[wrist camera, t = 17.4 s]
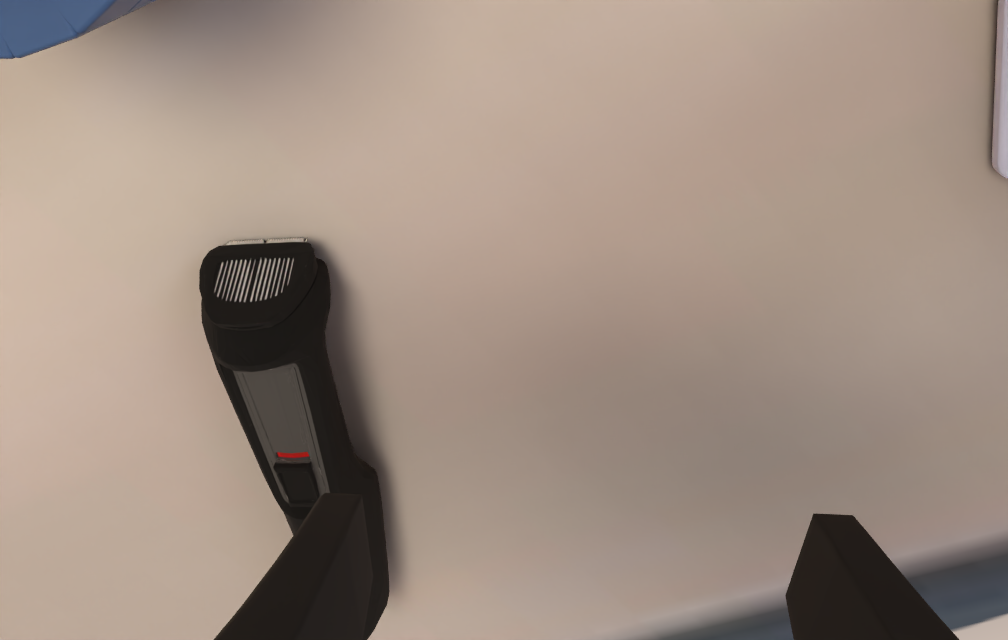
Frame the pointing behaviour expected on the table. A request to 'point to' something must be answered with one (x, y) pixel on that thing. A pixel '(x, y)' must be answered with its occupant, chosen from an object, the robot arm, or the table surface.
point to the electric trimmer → (288, 382)
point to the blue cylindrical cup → (54, 22)
